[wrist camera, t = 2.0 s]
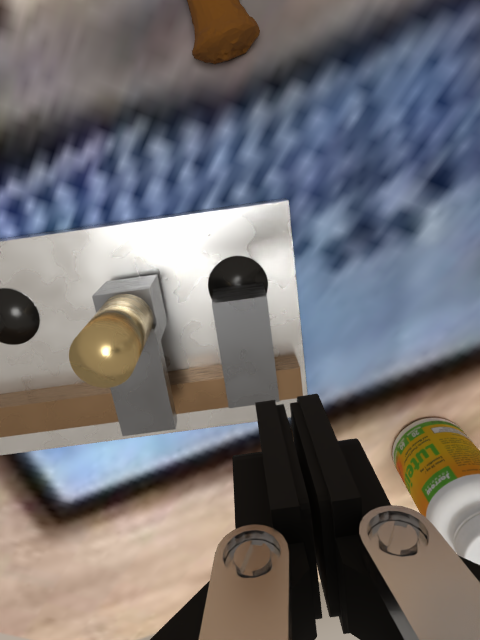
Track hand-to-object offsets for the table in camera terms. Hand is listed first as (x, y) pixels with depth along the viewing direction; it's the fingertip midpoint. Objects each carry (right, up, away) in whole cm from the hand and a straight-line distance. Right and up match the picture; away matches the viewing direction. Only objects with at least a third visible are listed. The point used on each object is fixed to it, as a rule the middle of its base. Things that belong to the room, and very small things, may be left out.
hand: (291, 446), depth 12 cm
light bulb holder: (-7, +2, +16) cm, 18 cm away
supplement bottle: (+12, -6, +22) cm, 26 cm away
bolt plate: (-10, +2, +18) cm, 21 cm away
